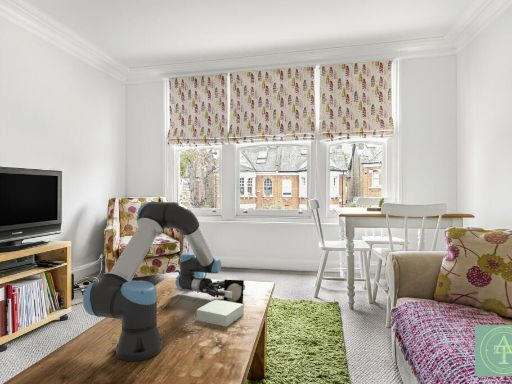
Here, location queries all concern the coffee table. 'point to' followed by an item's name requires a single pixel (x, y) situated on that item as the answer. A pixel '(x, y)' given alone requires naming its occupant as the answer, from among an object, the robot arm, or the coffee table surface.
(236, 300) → the decorative object
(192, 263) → the robot arm
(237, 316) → the sage block
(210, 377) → the coffee table surface
